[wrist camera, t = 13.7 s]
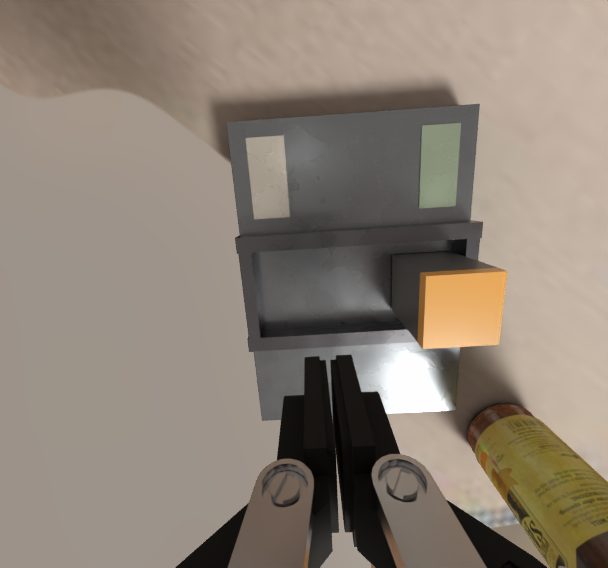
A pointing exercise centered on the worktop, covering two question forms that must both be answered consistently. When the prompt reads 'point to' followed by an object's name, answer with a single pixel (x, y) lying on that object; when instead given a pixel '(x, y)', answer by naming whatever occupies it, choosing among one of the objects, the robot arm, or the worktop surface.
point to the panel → (349, 243)
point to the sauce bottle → (544, 486)
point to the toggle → (448, 299)
